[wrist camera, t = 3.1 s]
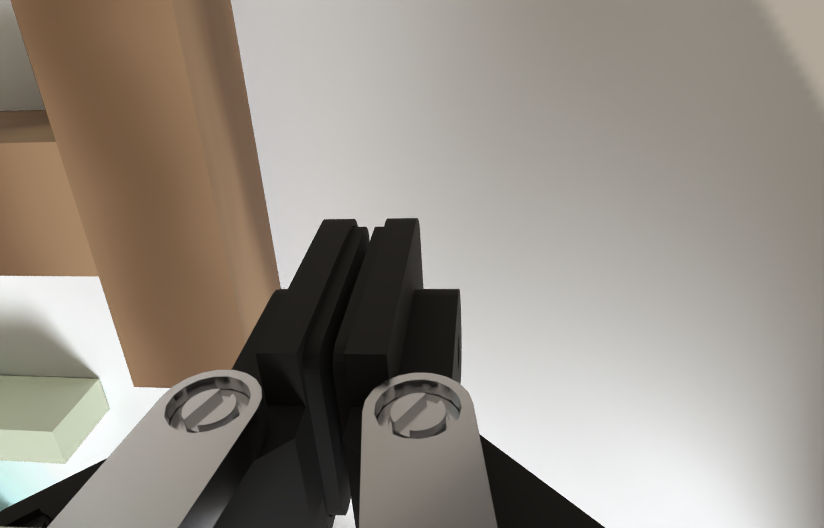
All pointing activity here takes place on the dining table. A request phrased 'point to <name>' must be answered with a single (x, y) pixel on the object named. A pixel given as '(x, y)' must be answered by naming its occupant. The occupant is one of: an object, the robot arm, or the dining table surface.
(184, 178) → the tee
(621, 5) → the dining table surface
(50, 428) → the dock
